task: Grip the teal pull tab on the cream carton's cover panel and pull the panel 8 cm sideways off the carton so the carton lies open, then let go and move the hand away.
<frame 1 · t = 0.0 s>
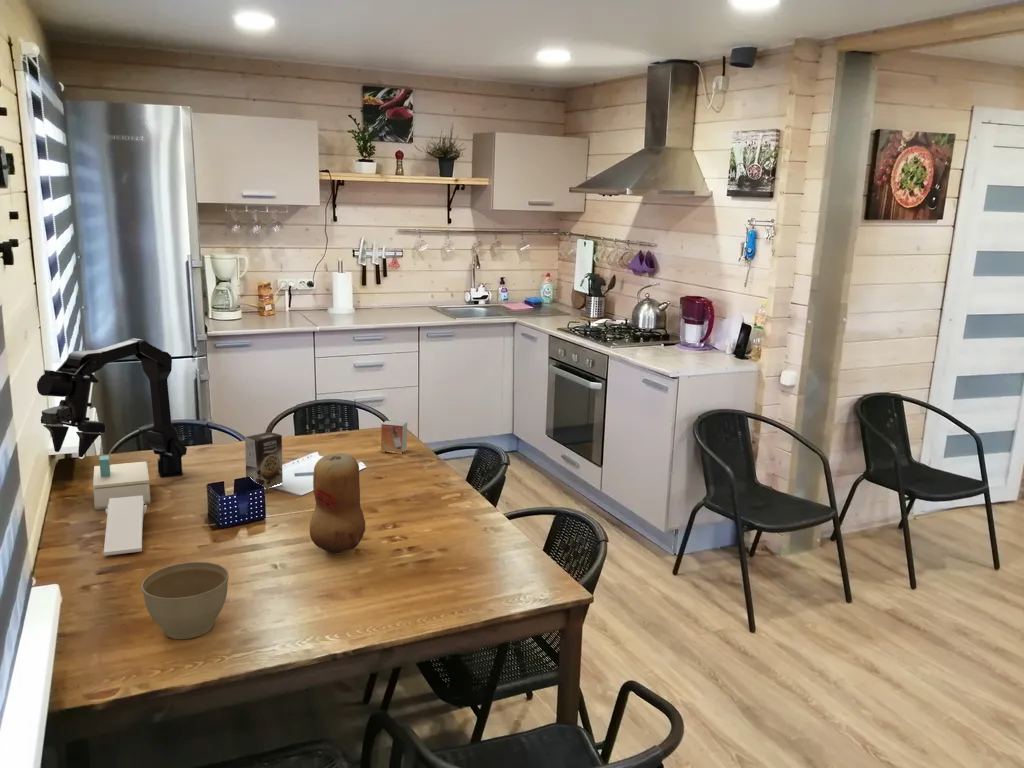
hand: (68, 454, 218), 15 cm above the table, tool pointing down, fingers open, 9 cm apart
butternut squash: (337, 551, 201), on the table
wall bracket: (125, 536, 206), on the table
planter bowl: (188, 629, 162), on the table
cover panel: (120, 466, 230), point 9 cm above the table, slide at 0.0 cm
coffee box: (264, 487, 244), on the table
small box: (393, 452, 285), on the table
carton: (122, 496, 232), on the table
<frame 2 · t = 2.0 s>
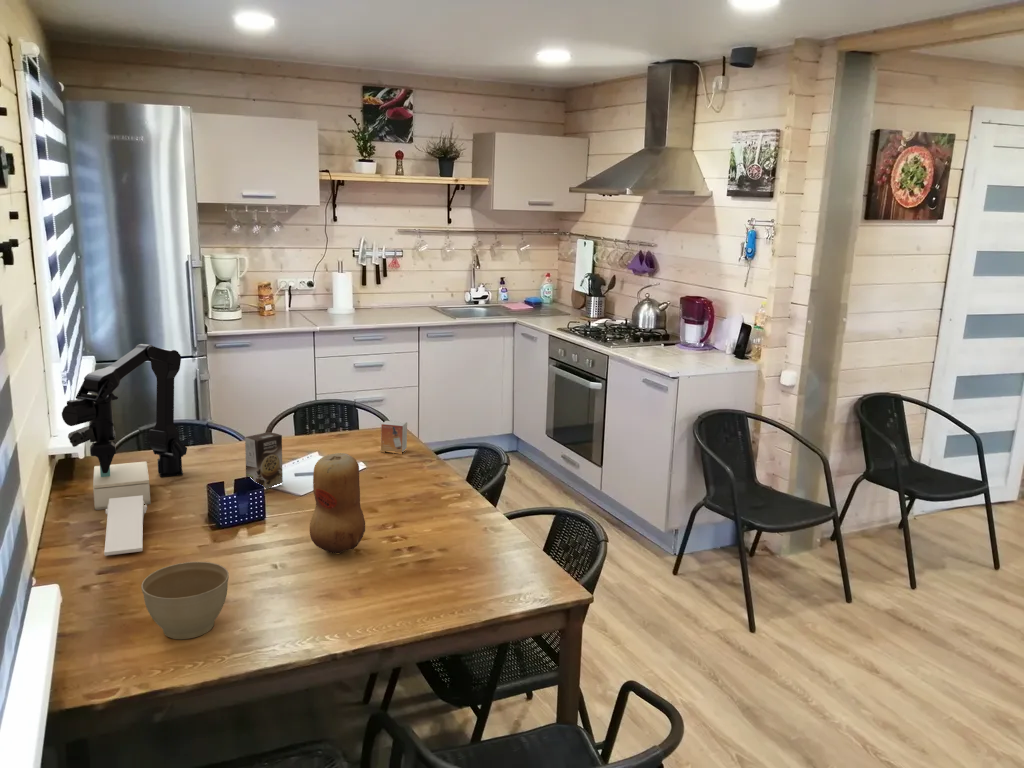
hand: (105, 470, 228), 8 cm above the table, tool pointing down, fingers closed on cover panel, 4 cm apart
cover panel: (120, 466, 230), point 9 cm above the table, slide at 0.0 cm, touching gripper
everything else where it was.
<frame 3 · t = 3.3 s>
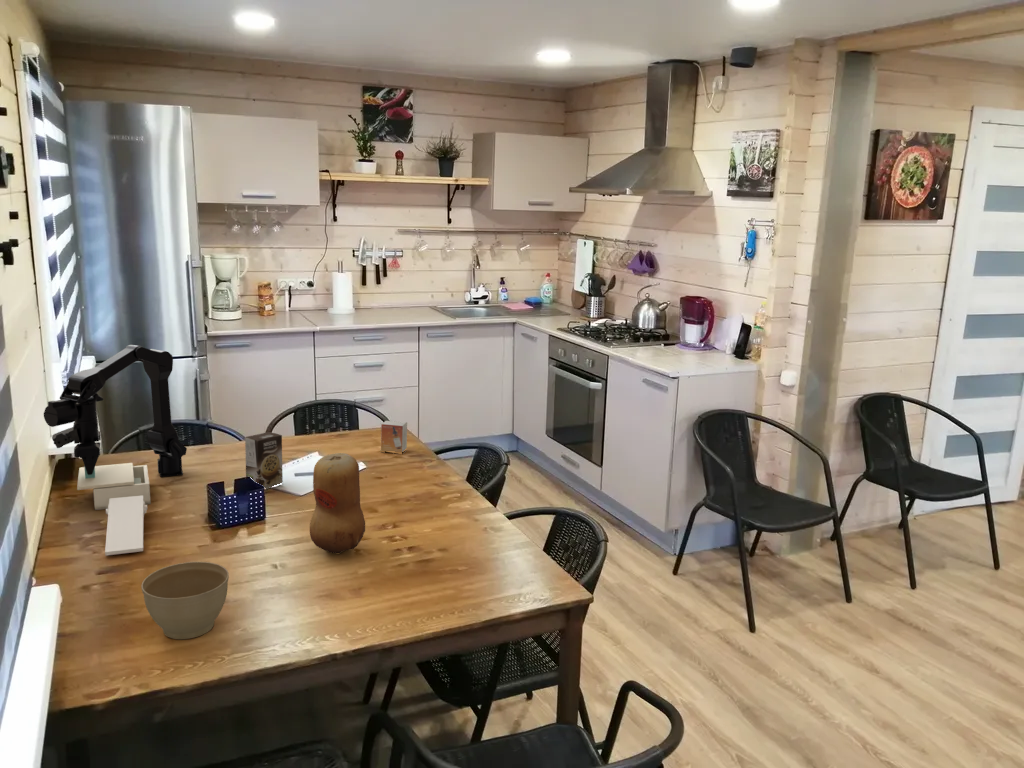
hand: (90, 472, 227), 8 cm above the table, tool pointing down, fingers closed on cover panel, 4 cm apart
cover panel: (105, 467, 228), point 9 cm above the table, slide at 3.8 cm, touching gripper
everything else where it was.
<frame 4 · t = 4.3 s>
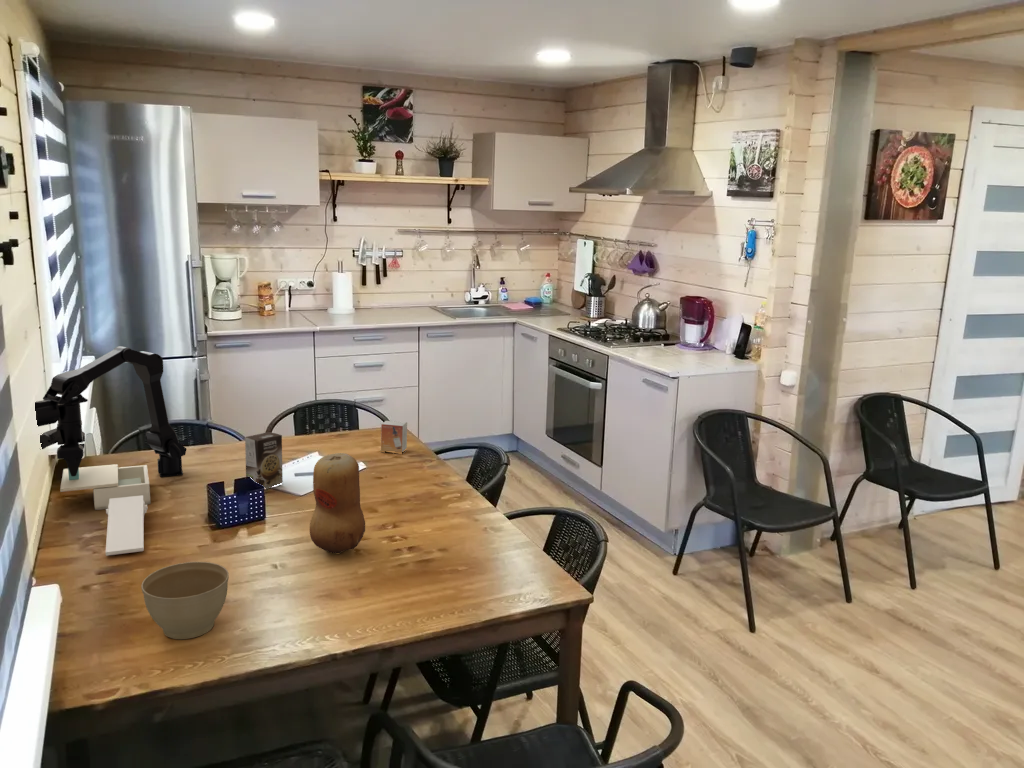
hand: (73, 473, 225), 8 cm above the table, tool pointing down, fingers closed on cover panel, 4 cm apart
cover panel: (89, 468, 226), point 9 cm above the table, slide at 7.9 cm, touching gripper
everything else where it was.
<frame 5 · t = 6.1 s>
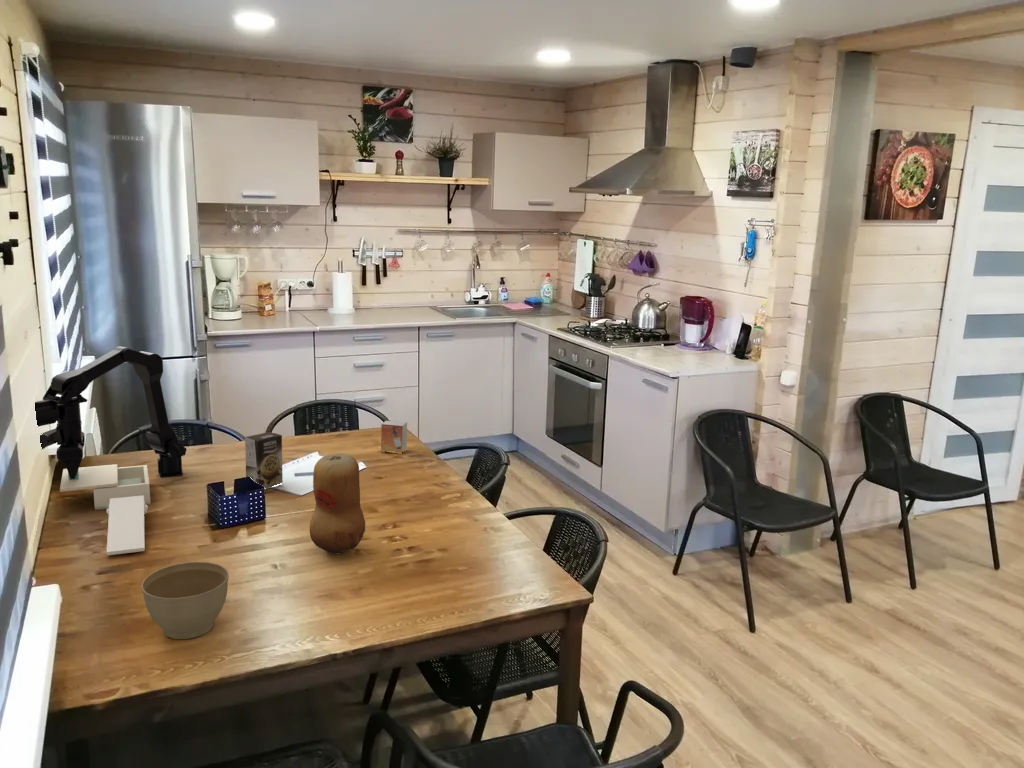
hand: (73, 473, 225), 8 cm above the table, tool pointing down, fingers open, 9 cm apart
cover panel: (89, 468, 226), point 9 cm above the table, slide at 8.0 cm
everything else where it was.
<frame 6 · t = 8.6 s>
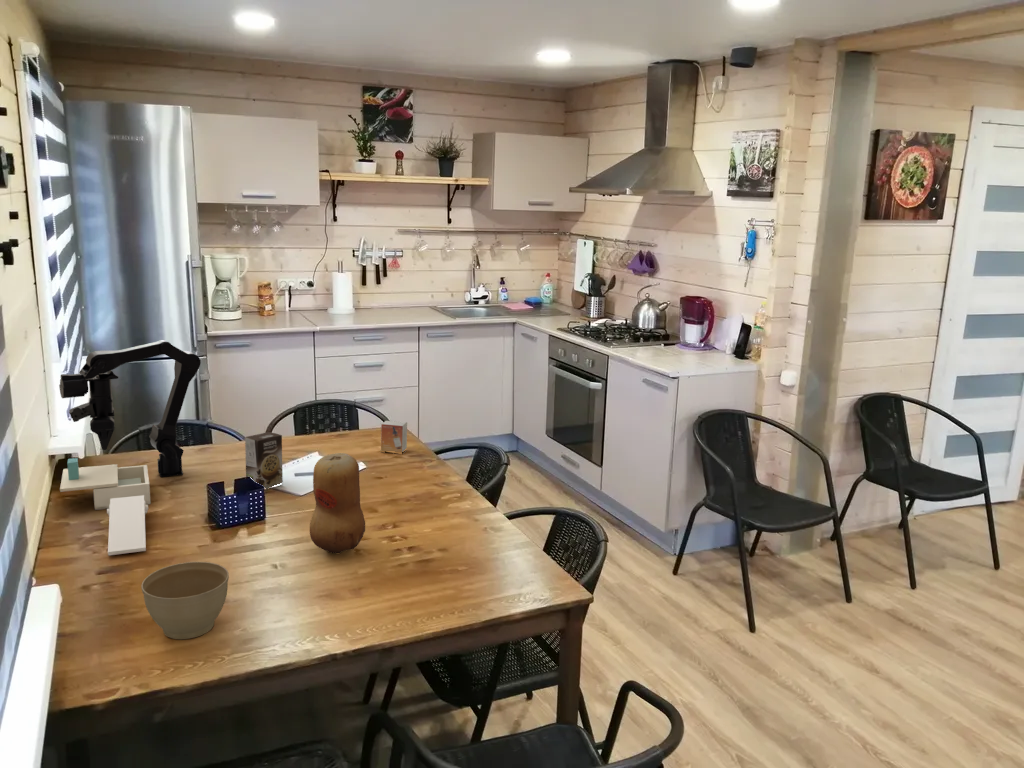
hand: (104, 445, 239), 12 cm above the table, tool pointing down, fingers open, 9 cm apart
nothing on the table moved.
at the end: cover panel slide at 7.9 cm; the gripper is holding nothing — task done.
